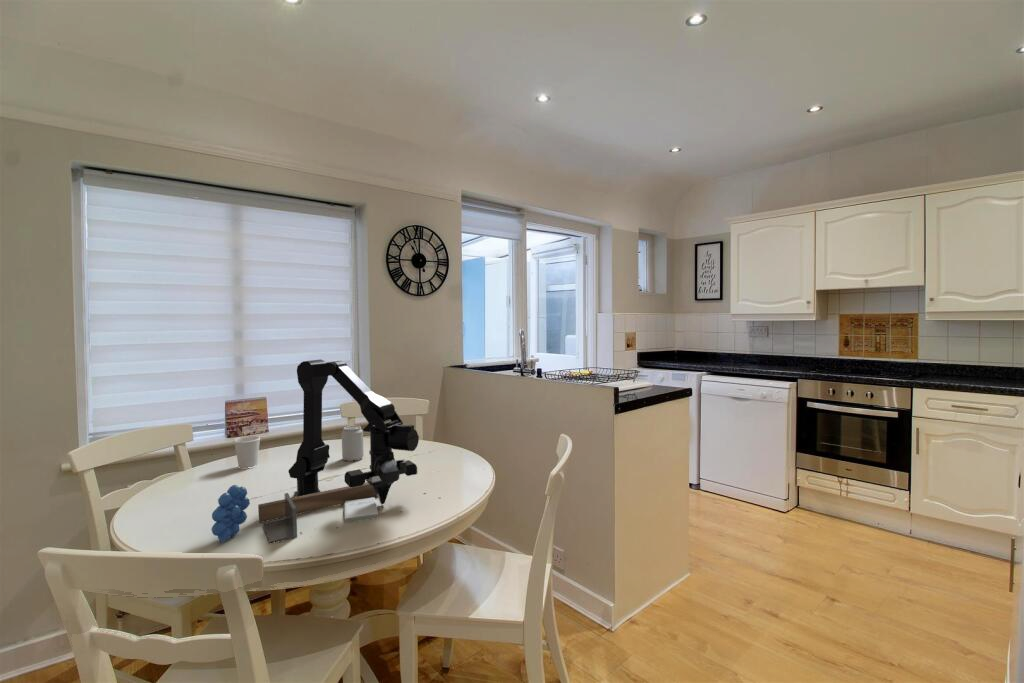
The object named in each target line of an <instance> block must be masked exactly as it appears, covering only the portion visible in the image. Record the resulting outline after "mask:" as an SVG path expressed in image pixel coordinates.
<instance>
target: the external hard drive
mask: <svg viewBox="0 0 1024 683" xmlns="http://www.w3.org/2000/svg"><path fill="white" fill-rule="evenodd" d="M378 511H379V510H378V506H377V501H376V497H372V498H366V499H358V500H350V501H345V504H344V523H345V524H346V522H347V523H353V521H354V522H359V520H361V521H367V520H373V519H372V518H374V519H378V518H379V512H378ZM377 517H378V518H377Z"/></svg>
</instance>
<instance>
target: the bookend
mask: <svg viewBox="0 0 1024 683" xmlns="http://www.w3.org/2000/svg"><path fill="white" fill-rule="evenodd" d="M291 498H292V497H291V496H290V494H289V493H288V492H286V493H285V492H284V499H285V517H284V518H280V519H276V520H271V521H267V522H264V523H263V522H262V523H263V528H264V532H265V534H266V536H267V540H268V543H269V544H270V543H271V544H274V542H275V543H278V541H279V542H283V541H287V540H291V539H294V538H295V539H296V538H298V524H297V522H298V521H297V520H298V519H297V516H298V515H297V514H296V507H295V505H294V503H293V501H292V499H291ZM282 540H283V541H282Z"/></svg>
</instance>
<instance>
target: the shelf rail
mask: <svg viewBox="0 0 1024 683" xmlns="http://www.w3.org/2000/svg"><path fill="white" fill-rule="evenodd" d="M376 496H377V494H376V491H375V489H374V487H373V486H371V485H370V484H369V483H368V482H367V481H366V482H365V483H364V484H363V485H362V486H357V487H349V486H348V485H347V486H343V487H339V488H333V489H329V490H323V491H321V492H318V493H313V494H308V495H303V496H298V497H296V496H294V497H290V498H291V499H292V501H293V503H294V505H295V507H296V515H300V514H304V513H309V512H314V511H317V510H322V509H327V508H333V507H335V506H339V505H341V506H342V505H345V501H350V500H358V499H366V498H376ZM377 497H378V496H377ZM257 508H258V511H257V512H258V523H263V522H262V521H264V522H268V521H267V520H269V521H273V520H277V519H276V518H278V519H283V518H285V498H283V499H278V500H274V501H269V502H265V503H264V502H263V503H261V504H257ZM272 519H273V520H272Z"/></svg>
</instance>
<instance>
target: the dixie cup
mask: <svg viewBox="0 0 1024 683" xmlns="http://www.w3.org/2000/svg"><path fill="white" fill-rule="evenodd" d="M260 440H261V437H260V436H258V435H257V436H256V435H252V436H251V435H250V436H241V437H238V438H235V439H233V443H234V448H235V454H236V458H237V465H238V468H239V467H240V468H248V467H253V466H255V465H257V466H258V464H259V463H258V462H259V451H260V442H261V441H260Z"/></svg>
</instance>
